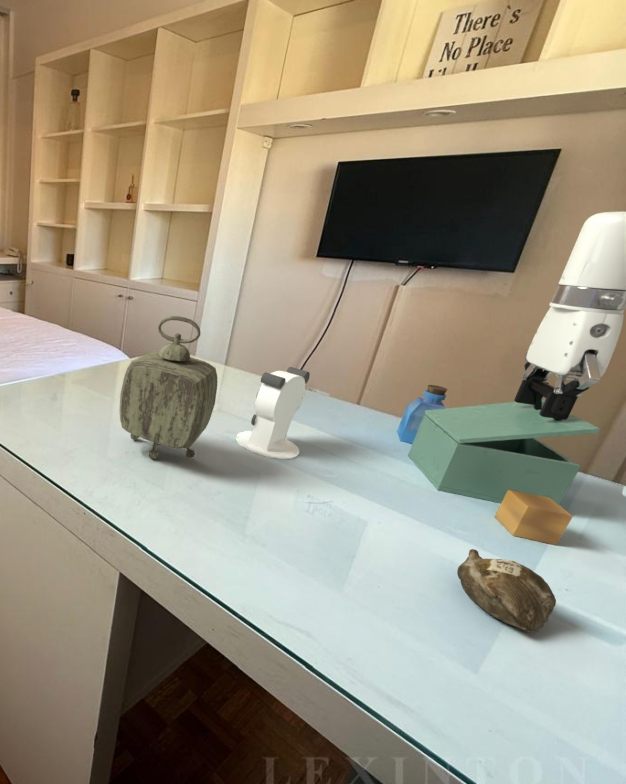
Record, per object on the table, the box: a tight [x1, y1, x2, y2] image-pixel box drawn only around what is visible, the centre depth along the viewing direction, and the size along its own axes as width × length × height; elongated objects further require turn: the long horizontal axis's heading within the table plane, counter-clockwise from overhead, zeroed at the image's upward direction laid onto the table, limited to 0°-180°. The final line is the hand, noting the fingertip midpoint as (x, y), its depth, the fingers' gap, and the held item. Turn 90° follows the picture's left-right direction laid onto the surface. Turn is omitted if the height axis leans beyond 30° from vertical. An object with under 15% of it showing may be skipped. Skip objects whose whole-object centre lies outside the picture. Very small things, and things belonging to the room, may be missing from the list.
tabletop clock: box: [119, 315, 218, 460], centre depth 78 cm, size 14×9×25 cm, turn 57°
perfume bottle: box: [396, 384, 448, 445], centre depth 95 cm, size 6×6×12 cm
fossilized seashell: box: [456, 548, 557, 633], centre depth 52 cm, size 8×7×10 cm
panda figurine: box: [235, 366, 311, 460], centre depth 87 cm, size 12×11×15 cm
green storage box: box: [407, 415, 582, 506], centre depth 79 cm, size 16×14×9 cm
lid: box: [425, 380, 600, 443], centre depth 76 cm, size 16×14×6 cm
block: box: [494, 490, 574, 546], centre depth 67 cm, size 5×5×5 cm
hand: (539, 409), depth 74 cm, fingers closed on lid, 6 cm apart
